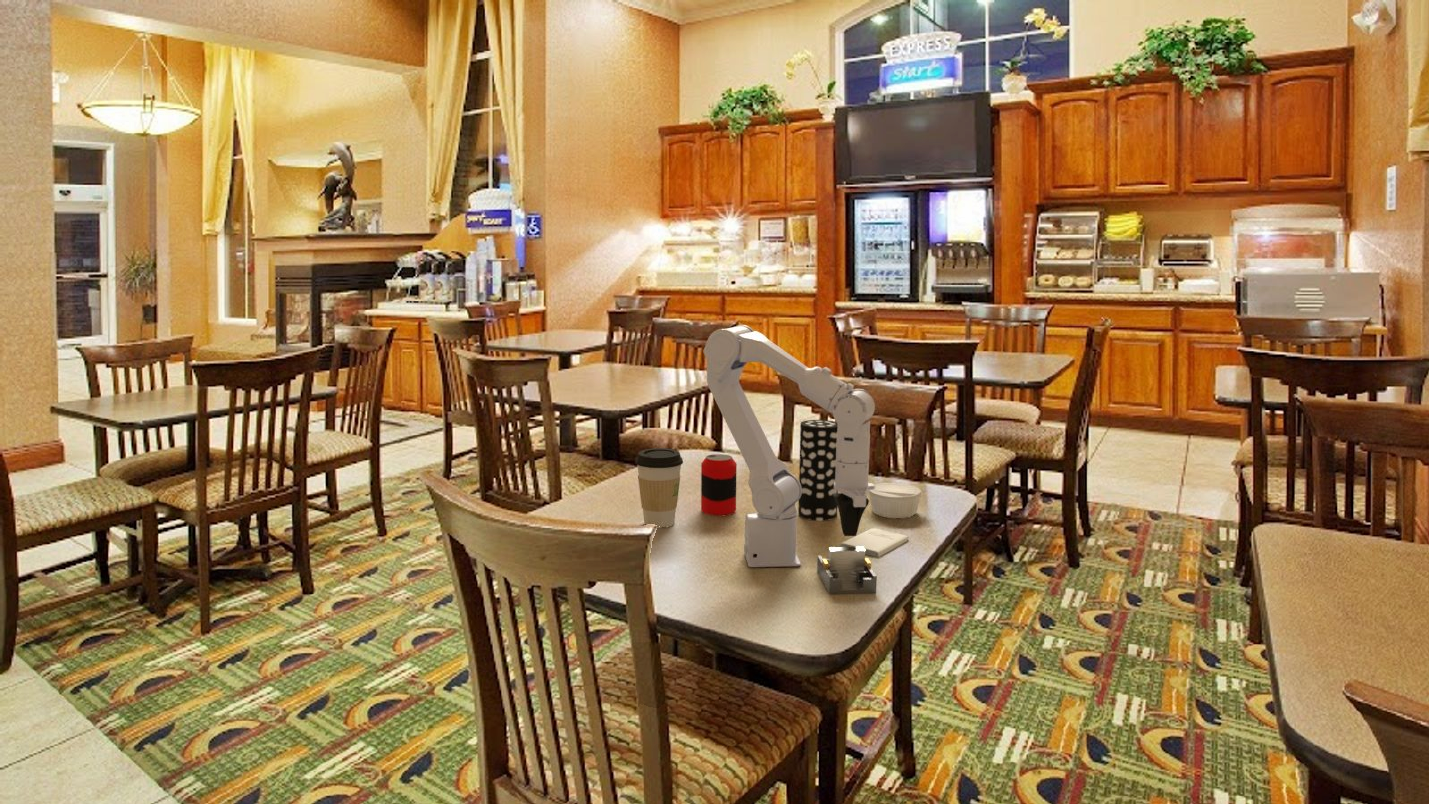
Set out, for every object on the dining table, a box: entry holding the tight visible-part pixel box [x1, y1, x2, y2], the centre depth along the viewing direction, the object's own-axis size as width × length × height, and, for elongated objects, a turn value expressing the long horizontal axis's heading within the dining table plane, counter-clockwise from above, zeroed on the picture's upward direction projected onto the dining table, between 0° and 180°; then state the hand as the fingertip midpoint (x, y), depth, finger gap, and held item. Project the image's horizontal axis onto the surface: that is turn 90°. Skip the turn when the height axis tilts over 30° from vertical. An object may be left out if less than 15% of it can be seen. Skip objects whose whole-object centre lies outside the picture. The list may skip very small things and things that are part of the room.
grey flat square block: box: [827, 546, 866, 580], centre depth 157 cm, size 6×2×6 cm, turn 94°
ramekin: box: [868, 482, 922, 519], centre depth 198 cm, size 11×11×5 cm
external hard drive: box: [839, 527, 909, 558], centre depth 178 cm, size 2×8×12 cm
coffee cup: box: [634, 447, 684, 528], centre depth 188 cm, size 10×10×15 cm
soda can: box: [700, 453, 737, 517], centre depth 197 cm, size 8×8×12 cm
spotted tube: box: [797, 419, 839, 522], centre depth 194 cm, size 8×8×20 cm
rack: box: [816, 554, 878, 595], centre depth 158 cm, size 8×10×4 cm
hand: (849, 534), depth 161 cm, fingers closed
